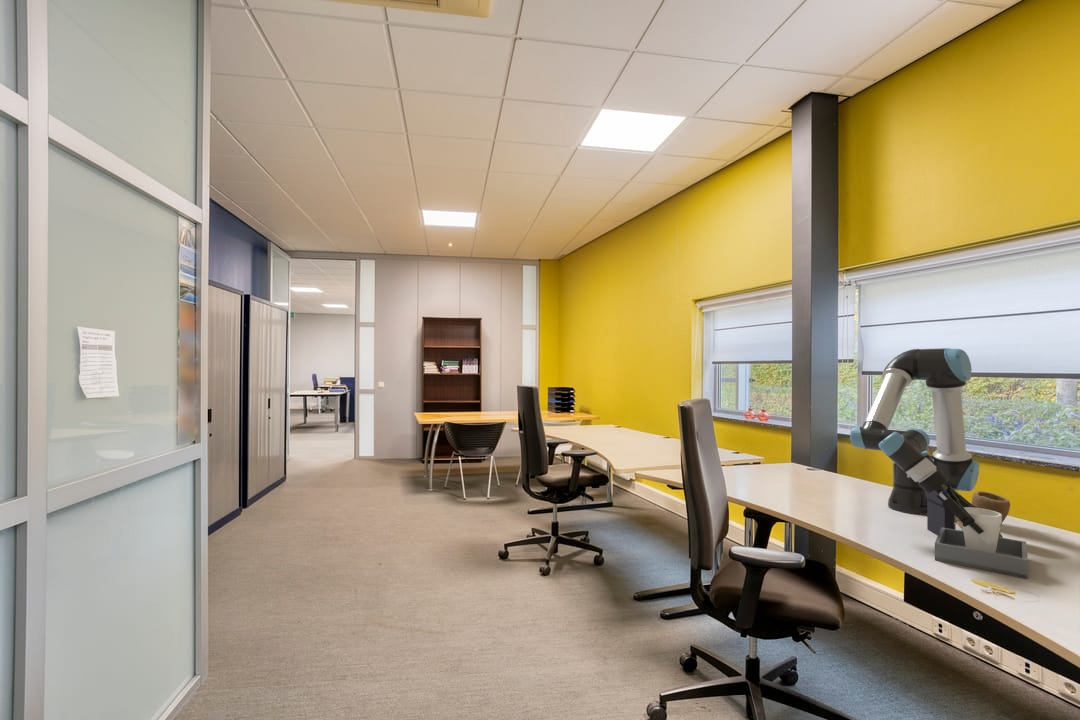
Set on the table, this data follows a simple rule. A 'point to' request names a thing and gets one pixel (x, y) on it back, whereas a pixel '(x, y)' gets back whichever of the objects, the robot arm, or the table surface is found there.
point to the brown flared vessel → (990, 504)
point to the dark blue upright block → (938, 514)
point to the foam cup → (988, 521)
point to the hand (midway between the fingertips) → (993, 537)
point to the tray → (983, 554)
